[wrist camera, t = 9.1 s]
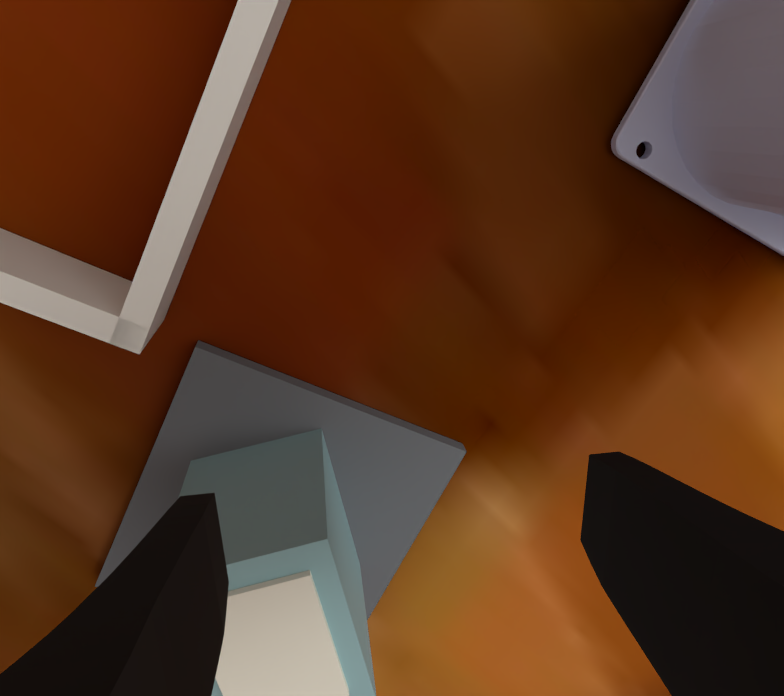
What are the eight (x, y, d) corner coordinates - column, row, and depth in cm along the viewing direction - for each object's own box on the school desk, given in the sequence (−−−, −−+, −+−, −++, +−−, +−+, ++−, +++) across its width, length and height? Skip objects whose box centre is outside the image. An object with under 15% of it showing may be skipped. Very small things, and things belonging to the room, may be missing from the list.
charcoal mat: (462, 443, 22) (466, 452, 21) (346, 640, 25) (348, 652, 24) (198, 340, 19) (195, 346, 19) (99, 574, 22) (94, 586, 21)
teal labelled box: (321, 428, 20) (327, 544, 15) (360, 564, 23) (377, 709, 17) (190, 460, 20) (147, 590, 14) (242, 594, 22) (222, 751, 17)
